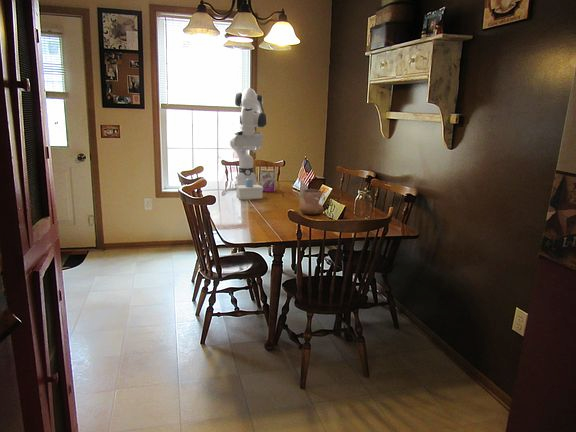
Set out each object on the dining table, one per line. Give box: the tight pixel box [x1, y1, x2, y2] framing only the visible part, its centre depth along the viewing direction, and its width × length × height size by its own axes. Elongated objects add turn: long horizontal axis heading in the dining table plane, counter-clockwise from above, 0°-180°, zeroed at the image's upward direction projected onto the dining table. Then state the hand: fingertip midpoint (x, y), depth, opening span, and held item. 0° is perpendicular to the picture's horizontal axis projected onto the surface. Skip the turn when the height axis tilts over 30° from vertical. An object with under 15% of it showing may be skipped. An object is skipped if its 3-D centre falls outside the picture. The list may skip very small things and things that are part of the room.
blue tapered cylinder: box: [246, 179, 253, 187], centre depth 307 cm, size 5×5×5 cm
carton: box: [235, 186, 263, 201], centre depth 308 cm, size 12×16×7 cm
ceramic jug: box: [299, 188, 325, 216], centre depth 266 cm, size 18×14×14 cm
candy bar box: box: [259, 168, 276, 193], centre depth 330 cm, size 11×5×16 cm, turn 84°
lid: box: [235, 184, 263, 191], centre depth 307 cm, size 13×17×2 cm
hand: (248, 152), depth 304 cm, fingers open, 8 cm apart
